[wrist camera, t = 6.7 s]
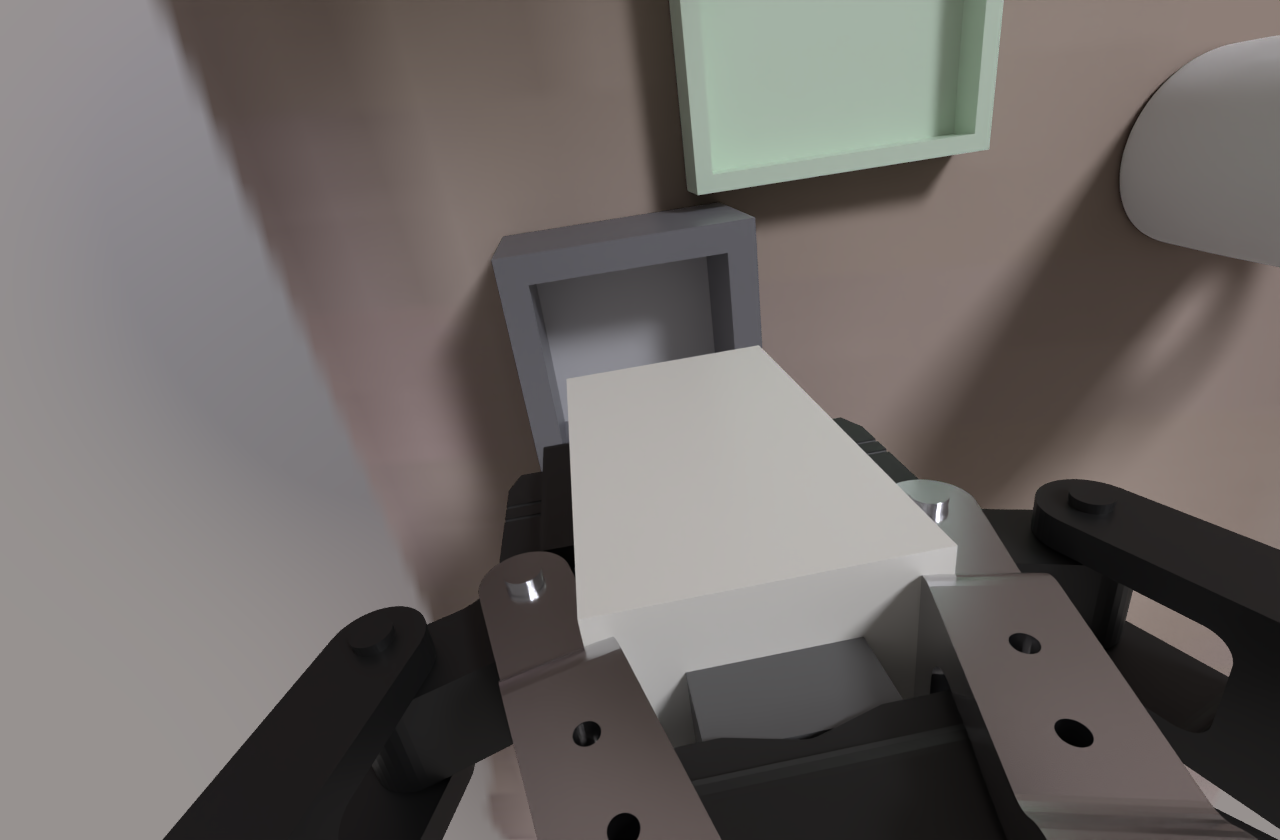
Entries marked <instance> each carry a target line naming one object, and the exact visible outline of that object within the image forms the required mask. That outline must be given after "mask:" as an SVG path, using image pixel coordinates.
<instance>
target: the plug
mask: <svg viewBox="0 0 1280 840" xmlns="http://www.w3.org/2000/svg"><path fill="white" fill-rule="evenodd" d="M566 381H567V402H568V424H569V446H570V467H571V489H572V511H573V532H574V554H575V576H576V598H577V619H578V624H579V628H580V633H581V637H582V641H583V645H584V647H585V646H588V645H590V644H593V643H595V642H598V641H601V640H604V639H607V638H610V637H614V638H615V639H616V640H617V642H618V643H619V645H620V647H621V649H622V651H623V653H624V654H625V656H626V658H627V660H628V662H629V664H630V666H631V668H632V670H633V672H634V674H635V676H636V677H637V679H638V681H639V683H640V685H641V687H642V689H643V691H644V693H645V695H646V697H647V698H648V700H649V702H650V704H651V706H652V708H653V710H654V712H655V714H656V716H657V718H658V720H659V721H660V723H661V725H662V727H663V729H664V731H665V733H666V735H667V737H668V739H669V741H670V742H671V744H672V746H673V748H674V747H679V746H684V745H689V744H693V743H698V742H703V741H708V740H712V739H717V738H758V739H795V740H805V739H812V738H815V737H817V736H820V735H822V734H824V733H826V732H828V731H830V730H832V729H834V728H836V727H838V726H840V725H842V724H844V723H846V722H848V721H850V720H852V719H853V718H855V717H857V716H859V715H861V714H863V713H865V712H867V711H869V710H871V709H873V708H875V707H877V706H879V705H881V704H885V703H889V702H894V701H899V700H904V699H909V698H913V697H914V684H915V669H916V654H917V638H918V623H919V608H920V593H921V578H922V575H935V574H955V568H956V558H957V547H958V545H957V544H956V543H955V542H954V541H953V540H952V539H951V538H950V537H949V536H948V535H947V534H946V533H945V532H944V531H943V530H942V529H941V528H940V527H939V526H938V525H937V524H936V523H935V522H934V521H933V520H932V519H931V518H930V517H929V516H928V515H927V514H926V513H925V512H924V511H923V510H922V509H921V508H920V507H919V506H918V505H917V504H916V503H915V502H914V501H913V500H912V499H911V498H910V497H909V496H908V495H907V494H906V493H905V492H904V491H903V490H902V489H901V488H900V487H899V486H898V485H897V484H896V483H895V482H894V481H893V480H892V479H891V478H890V477H889V476H888V475H887V474H886V473H885V472H884V471H883V470H882V469H881V468H880V467H879V466H878V465H877V464H876V463H875V462H874V461H873V460H872V459H871V458H870V457H869V456H868V455H867V454H866V453H865V452H864V451H863V450H862V449H861V448H860V447H859V446H858V445H857V444H856V443H855V442H854V441H853V440H852V439H851V438H850V437H849V436H848V435H847V434H846V433H845V432H844V431H843V430H842V428H841V427H840V426H839V425H838V424H837V423H836V422H835V421H834V420H833V419H832V418H831V417H830V416H829V415H828V414H827V413H826V412H825V411H824V410H823V409H822V408H821V407H820V406H819V405H818V404H817V403H816V402H815V401H814V400H813V399H812V398H811V397H810V396H809V395H808V394H807V393H806V392H805V391H804V390H803V389H802V388H801V387H800V386H799V385H798V384H797V383H796V382H795V381H794V380H793V379H792V378H791V377H790V376H789V375H788V374H787V373H786V372H785V371H784V370H783V369H782V368H781V367H780V366H779V365H778V364H777V363H776V362H775V361H774V360H773V359H772V358H771V357H770V356H769V355H768V354H767V353H766V352H765V351H764V350H763V349H762V348H761V347H760V346H759V345H757V346H752V347H746V348H740V349H735V350H729V351H723V352H717V353H712V354H706V355H700V356H695V357H689V358H683V359H677V360H672V361H666V362H660V363H655V364H649V365H643V366H637V367H632V368H626V369H620V370H614V371H609V372H603V373H597V374H592V375H586V376H580V377H574V378H569V379H566Z"/></svg>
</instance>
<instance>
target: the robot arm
mask: <svg viewBox="0 0 1280 840" xmlns="http://www.w3.org/2000/svg"><path fill="white" fill-rule="evenodd" d="M833 420H834V421H835V422H836V423H837V424H838V425H839V426H840V427H841V428H842V430H843V431H844V432H845V433H846V434H847V435H848V436H849V437H850V438H851V439H852V440H853V441H854V442H855V443H856V444H857V445H858V446H859V447H860V448H861V449H862V450H863V451H864V452H865V453H866V454H867V455H868V456H869V457H870V458H871V459H872V460H873V461H874V462H875V463H876V464H877V465H878V466H879V467H880V468H881V469H882V470H883V471H884V472H885V473H886V474H887V475H888V476H889V477H890V478H891V479H892V480H893V481H894V482H895V483H896V484H897V485H898V486H899V487H900V488H901V489H902V490H903V491H904V492H905V493H906V494H907V495H908V496H909V497H910V498H911V499H912V500H913V501H914V502H915V503H916V504H917V505H918V506H919V507H920V508H921V509H922V510H923V511H924V512H925V513H926V514H927V515H928V516H929V517H930V518H931V519H932V520H933V521H934V522H935V523H936V524H937V525H938V526H939V527H940V528H941V529H942V530H943V531H944V532H945V533H946V534H947V535H948V536H949V537H950V538H951V539H952V540H953V541H954V542H955V543H956V544H957V545H958V547H957V558H956V568H955V574H935V575H922V578H921V593H920V608H919V623H918V638H917V654H916V669H915V684H914V697H913V698H909V699H904V700H899V701H894V702H889V703H885V704H881V705H879V706H877V707H875V708H873V709H871V710H869V711H867V712H865V713H863V714H861V715H859V716H857V717H855V718H853V719H852V720H850V721H848V722H846V723H844V724H842V725H840V726H838V727H836V728H834V729H832V730H830V731H828V732H826V733H824V734H822V735H820V736H817V737H815V738H812V739H805V740H795V739H758V738H717V739H712V740H708V741H703V742H698V743H693V744H689V745H684V746H679V747H674V748H673V746H672V744H671V742H670V741H669V739H668V737H667V735H666V733H665V731H664V729H663V727H662V725H661V723H660V721H659V720H658V718H657V716H656V714H655V712H654V710H653V708H652V706H651V704H650V702H649V700H648V698H647V697H646V695H645V693H644V691H643V689H642V687H641V685H640V683H639V681H638V679H637V677H636V676H635V674H634V672H633V670H632V668H631V666H630V664H629V662H628V660H627V658H626V656H625V654H624V653H623V651H622V649H621V647H620V645H619V643H618V642H617V640H616V639H615V638H614V637H610V638H607V639H604V640H601V641H598V642H595V643H593V644H590V645H588V646H585V647H584V645H583V641H582V637H581V633H580V628H579V624H578V619H577V598H576V576H575V554H574V532H573V511H572V489H571V467H570V446H569V443H563V444H558V445H552V446H547V447H544V448H543V472H538V473H532V474H527V475H521V476H520V478H519V479H518V480H517V481H516V483H515V484H514V485H513V486H512V488H511V489H510V490H509V495H508V502H507V510H506V517H505V521H506V523H505V525H504V533H503V540H502V548H501V555H500V563H499V564H498V565H496V566H495V567H494V568H492V569H491V570H490V571H489V572H488V573H487V574H486V575H485V577H484V578H483V580H482V581H481V584H480V586H479V591H478V592H479V599H478V600H477V601H476V602H474V603H473V604H471V605H469V606H468V607H466V608H464V609H462V610H460V611H458V612H456V613H454V614H451V615H449V616H447V617H444V618H442V619H439V620H437V621H435V622H432V623H430V624H428V625H427V624H426V621H425V619H424V617H423V615H422V614H421V613H420V612H419V611H417V610H415V609H413V608H409V607H403V606H396V607H388V608H383V609H379V610H376V611H373V612H371V613H368V614H366V615H364V616H362V617H360V618H358V619H356V620H355V621H353V622H351V623H350V624H349V625H347V626H346V627H344V628H343V629H342V630H341V631H340V632H339V633H338V634H337V635H336V636H335V637H334V638H333V639H332V640H331V641H330V642H329V644H328V645H327V646H326V647H325V648H324V649H323V651H322V652H321V653H320V654H319V655H318V657H317V658H316V659H315V660H314V661H313V662H312V664H311V665H310V666H309V667H308V668H307V670H306V671H305V672H304V673H303V674H302V675H301V677H300V678H299V679H298V680H297V681H296V683H295V684H294V685H293V686H292V687H291V689H290V690H289V691H288V692H287V693H286V694H285V696H284V697H283V698H282V699H281V700H280V702H279V703H278V704H277V705H276V706H275V707H274V709H273V710H272V711H271V712H270V713H269V714H268V716H267V717H266V718H265V719H264V720H263V722H262V723H261V724H260V725H259V726H258V728H257V729H256V730H255V731H254V732H253V733H252V735H251V736H250V737H249V738H248V739H247V741H246V742H245V743H244V744H243V745H242V746H241V748H240V749H239V750H238V751H237V753H236V754H235V755H234V756H233V757H232V758H231V760H230V761H229V762H228V763H227V764H226V765H225V767H224V768H223V769H222V770H221V771H220V773H219V774H218V775H217V776H216V777H215V779H214V780H213V781H212V782H211V783H210V784H209V786H208V787H207V788H206V789H205V790H204V792H203V793H202V794H201V795H200V796H199V797H198V798H197V800H196V801H195V802H194V803H193V804H192V806H191V807H190V808H189V809H188V810H187V812H186V813H185V814H184V815H183V816H182V817H181V819H180V820H179V821H178V822H177V823H176V825H175V826H174V827H173V828H172V829H171V831H170V832H169V833H168V834H167V835H166V836H165V838H164V839H163V840H442V839H443V837H444V835H445V833H446V830H447V828H448V826H449V824H450V822H451V820H452V818H453V815H454V813H455V811H456V809H457V807H458V805H459V802H460V800H461V798H462V796H463V794H464V792H465V789H466V787H467V785H468V783H469V781H470V779H471V776H472V774H473V771H474V766H475V763H477V762H479V761H481V760H483V759H485V758H487V757H489V756H491V755H492V754H494V753H496V752H498V751H500V750H502V749H504V748H506V747H508V746H510V745H512V744H514V748H515V752H516V756H517V760H518V764H519V768H520V772H521V776H522V780H523V785H524V789H525V793H526V797H527V801H528V805H529V809H530V813H531V817H532V821H533V825H534V829H535V833H536V837H537V840H1278V839H1276V838H1274V837H1271V836H1270V835H1268V834H1266V833H1264V832H1262V831H1260V830H1258V829H1256V828H1254V827H1251V826H1250V825H1248V824H1245V823H1244V822H1242V821H1240V820H1238V819H1236V818H1234V817H1232V816H1230V815H1228V814H1226V813H1224V812H1222V811H1220V810H1218V809H1216V808H1214V807H1213V806H1212V805H1211V803H1210V802H1209V800H1208V799H1207V798H1206V796H1205V795H1204V793H1203V792H1202V790H1201V789H1200V787H1199V786H1198V785H1197V783H1196V782H1195V780H1194V779H1193V777H1192V776H1191V774H1190V773H1189V771H1188V770H1187V769H1186V767H1185V766H1184V764H1185V765H1186V766H1188V767H1189V768H1191V769H1192V770H1194V771H1195V772H1196V773H1198V774H1199V775H1201V776H1202V777H1204V778H1205V779H1207V780H1208V781H1210V782H1211V783H1213V784H1214V785H1216V786H1217V787H1219V788H1220V789H1222V790H1223V791H1225V792H1226V793H1228V794H1229V795H1231V796H1232V797H1233V798H1235V799H1236V800H1238V801H1239V802H1241V803H1242V804H1244V805H1245V806H1247V807H1248V808H1250V809H1251V810H1253V811H1254V812H1256V813H1257V814H1259V815H1260V816H1261V817H1263V818H1264V819H1266V820H1267V821H1269V822H1270V823H1272V824H1273V825H1275V826H1276V827H1278V828H1279V829H1280V550H1278V549H1276V548H1273V547H1271V546H1268V545H1266V544H1263V543H1260V542H1258V541H1255V540H1253V539H1250V538H1248V537H1245V536H1242V535H1240V534H1237V533H1235V532H1232V531H1230V530H1227V529H1224V528H1222V527H1219V526H1217V525H1214V524H1211V523H1209V522H1206V521H1204V520H1201V519H1199V518H1196V517H1193V516H1191V515H1188V514H1186V513H1183V512H1181V511H1178V510H1175V509H1173V508H1170V507H1168V506H1165V505H1162V504H1160V503H1157V502H1155V501H1152V500H1150V499H1147V498H1144V497H1142V496H1139V495H1137V494H1134V493H1132V492H1129V491H1126V490H1124V489H1121V488H1118V487H1116V486H1113V485H1109V484H1105V483H1101V482H1096V481H1090V480H1079V479H1066V480H1057V481H1053V482H1050V483H1047V484H1045V485H1043V486H1041V487H1040V488H1039V489H1038V490H1037V492H1036V494H1035V501H1034V507H1033V510H999V509H981V508H980V506H979V505H978V503H977V501H976V500H975V499H974V498H973V496H971V495H970V494H969V493H968V492H966V491H965V490H963V489H961V488H959V487H957V486H954V485H951V484H948V483H944V482H940V481H934V480H919V479H918V478H917V477H915V476H914V475H913V474H912V473H911V472H910V471H909V470H908V469H907V468H906V467H905V466H904V465H903V464H902V463H901V462H899V461H898V460H897V459H896V458H895V457H894V456H893V455H892V454H891V453H890V452H887V451H886V448H884V447H883V446H882V445H881V444H880V443H879V442H878V441H877V442H876V441H875V438H874V437H873V436H872V435H871V434H869V433H868V432H867V431H866V430H865V429H864V428H863V427H862V426H860V425H857V424H855V423H852V422H850V421H848V420H845V419H843V418H836V419H833ZM1133 590H1134V591H1136V592H1138V593H1140V594H1142V595H1144V596H1146V597H1148V598H1150V599H1152V600H1154V601H1156V602H1158V603H1160V604H1162V605H1164V606H1166V607H1168V608H1170V609H1172V610H1174V611H1176V612H1178V613H1180V614H1182V615H1184V616H1185V617H1187V618H1189V619H1191V620H1193V621H1195V622H1197V623H1199V624H1201V625H1203V626H1205V627H1207V628H1208V629H1210V630H1211V631H1213V632H1214V633H1216V634H1217V635H1218V636H1219V637H1220V638H1221V639H1222V640H1223V641H1224V642H1225V644H1226V645H1227V646H1228V648H1229V650H1230V652H1231V654H1232V657H1233V667H1232V670H1231V673H1230V675H1229V677H1227V676H1226V675H1224V674H1222V673H1220V672H1218V671H1217V670H1215V669H1213V668H1211V667H1209V666H1207V665H1206V664H1204V663H1202V662H1200V661H1198V660H1197V659H1195V658H1193V657H1191V656H1189V655H1187V654H1186V653H1184V652H1182V651H1180V650H1178V649H1176V648H1175V647H1173V646H1171V645H1169V644H1167V643H1166V642H1164V641H1162V640H1160V639H1158V638H1156V637H1155V636H1153V635H1151V634H1149V633H1147V632H1146V631H1144V630H1142V629H1140V628H1138V627H1136V626H1135V625H1133V624H1131V623H1129V622H1127V621H1125V620H1126V616H1127V612H1128V608H1129V604H1130V600H1131V596H1132V592H1133Z"/></svg>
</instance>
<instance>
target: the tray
mask: <svg viewBox="0 0 1280 840" xmlns="http://www.w3.org/2000/svg"><path fill="white" fill-rule="evenodd" d="M1003 2H1004V0H669V6H670V16H671V27H672V37H673V47H674V58H675V68H676V78H677V89H678V99H679V109H680V120H681V130H682V140H683V151H684V161H685V171H686V182H687V191H689V192H691V193H694V194H696V195H703V194H709V193H715V192H722V191H728V190H734V189H741V188H747V187H753V186H760V185H766V184H772V183H779V182H785V181H791V180H798V179H804V178H810V177H817V176H823V175H829V174H836V173H842V172H848V171H855V170H861V169H867V168H874V167H880V166H886V165H893V164H899V163H905V162H912V161H918V160H924V159H931V158H937V157H943V156H950V155H956V154H963V153H969V152H975V151H982V150H988V149H989V145H990V135H991V124H992V114H993V104H994V94H995V84H996V74H997V63H998V53H999V43H1000V33H1001V23H1002V12H1003Z"/></svg>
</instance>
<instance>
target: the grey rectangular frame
mask: <svg viewBox="0 0 1280 840" xmlns="http://www.w3.org/2000/svg"><path fill="white" fill-rule="evenodd" d="M491 261H492V265H493V269H494V273H495V278H496V282H497V286H498V290H499V295H500V299H501V303H502V307H503V312H504V316H505V320H506V324H507V328H508V333H509V337H510V341H511V345H512V350H513V354H514V358H515V362H516V367H517V371H518V375H519V379H520V384H521V388H522V392H523V396H524V401H525V405H526V409H527V413H528V417H529V422H530V426H531V430H532V434H533V439H534V443H535V447H536V451H537V456H538V460H539V464H540V468H541V472H543V448H544V447H547V446H552V445H558V444H563V443H569V424H568V402H567V381H566V379H569V378H574V377H580V376H586V375H592V374H597V373H603V372H609V371H614V370H620V369H626V368H632V367H637V366H643V365H649V364H655V363H660V362H666V361H672V360H677V359H683V358H689V357H695V356H700V355H706V354H712V353H717V352H723V351H729V350H735V349H740V348H746V347H752V346H757V345H759V346H760V347H761V348H762V337H761V318H760V300H759V281H758V262H757V243H756V225H755V217H753V216H750V215H748V214H746V213H743V212H741V211H739V210H736V209H734V208H732V207H729V206H727V205H725V204H722V203H720V202H718V203H711V204H705V205H699V206H692V207H686V208H680V209H674V210H667V211H661V212H655V213H648V214H642V215H636V216H629V217H623V218H617V219H610V220H604V221H598V222H592V223H585V224H579V225H573V226H566V227H560V228H554V229H547V230H541V231H535V232H528V233H522V234H516V235H510V236H503V238H502V240H501V242H500V244H499V246H498V248H497V250H496V252H495V253H494V255H493V257H492V259H491Z"/></svg>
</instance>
